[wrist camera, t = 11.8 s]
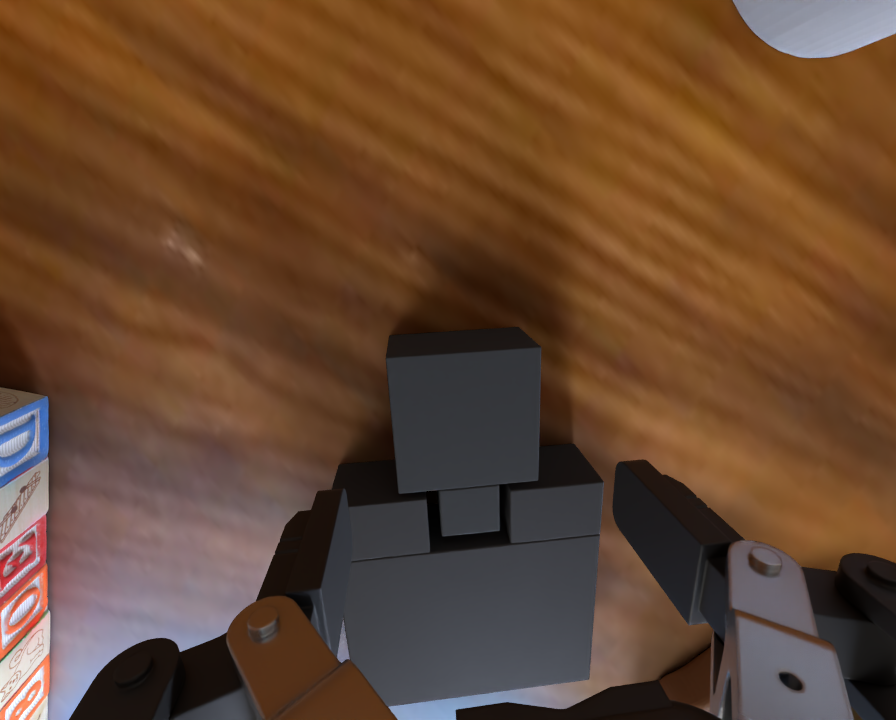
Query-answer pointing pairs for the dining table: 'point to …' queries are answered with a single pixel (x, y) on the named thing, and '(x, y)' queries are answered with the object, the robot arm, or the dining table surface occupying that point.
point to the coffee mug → (819, 24)
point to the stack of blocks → (24, 556)
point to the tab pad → (465, 419)
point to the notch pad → (472, 584)
